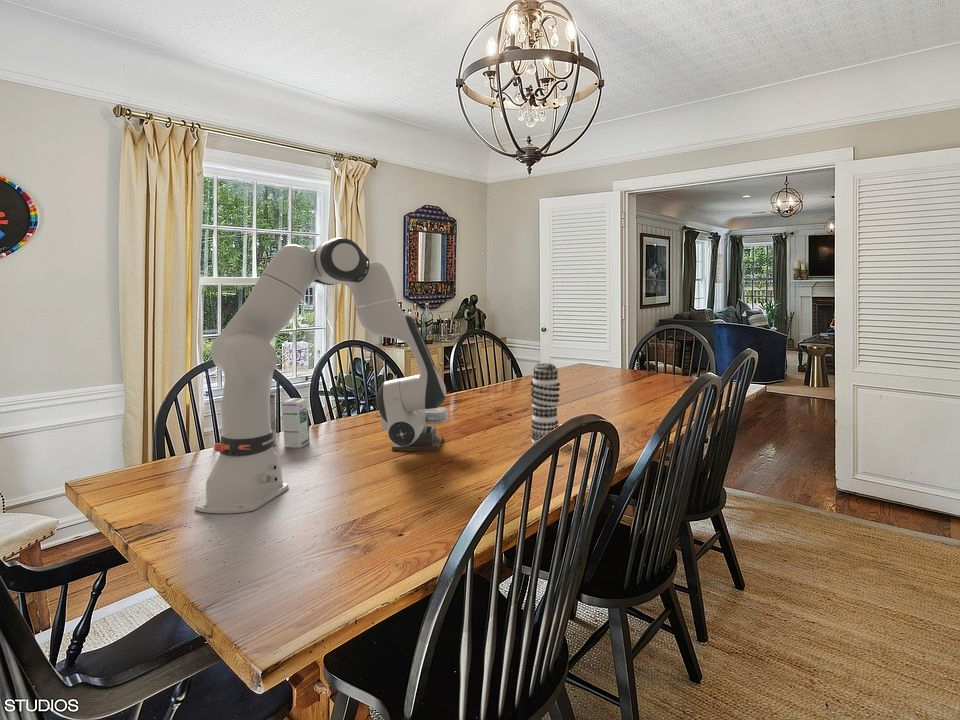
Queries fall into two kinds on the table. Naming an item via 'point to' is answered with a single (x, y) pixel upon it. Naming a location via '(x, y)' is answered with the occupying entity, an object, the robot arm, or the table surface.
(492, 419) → the table surface
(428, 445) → the dark grey square holder
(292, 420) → the syrup box
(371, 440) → the table surface
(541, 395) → the decorative candle
